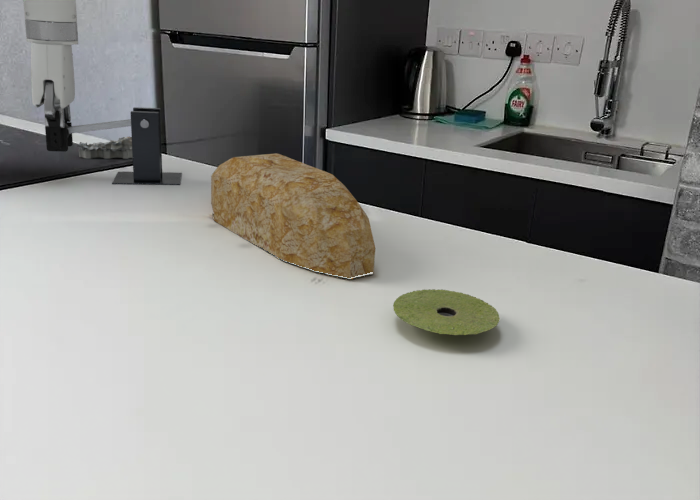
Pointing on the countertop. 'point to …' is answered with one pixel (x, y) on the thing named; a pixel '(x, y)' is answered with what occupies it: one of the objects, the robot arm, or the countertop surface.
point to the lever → (97, 126)
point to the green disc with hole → (446, 312)
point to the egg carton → (107, 149)
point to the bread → (294, 213)
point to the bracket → (147, 151)
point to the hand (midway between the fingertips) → (60, 147)
